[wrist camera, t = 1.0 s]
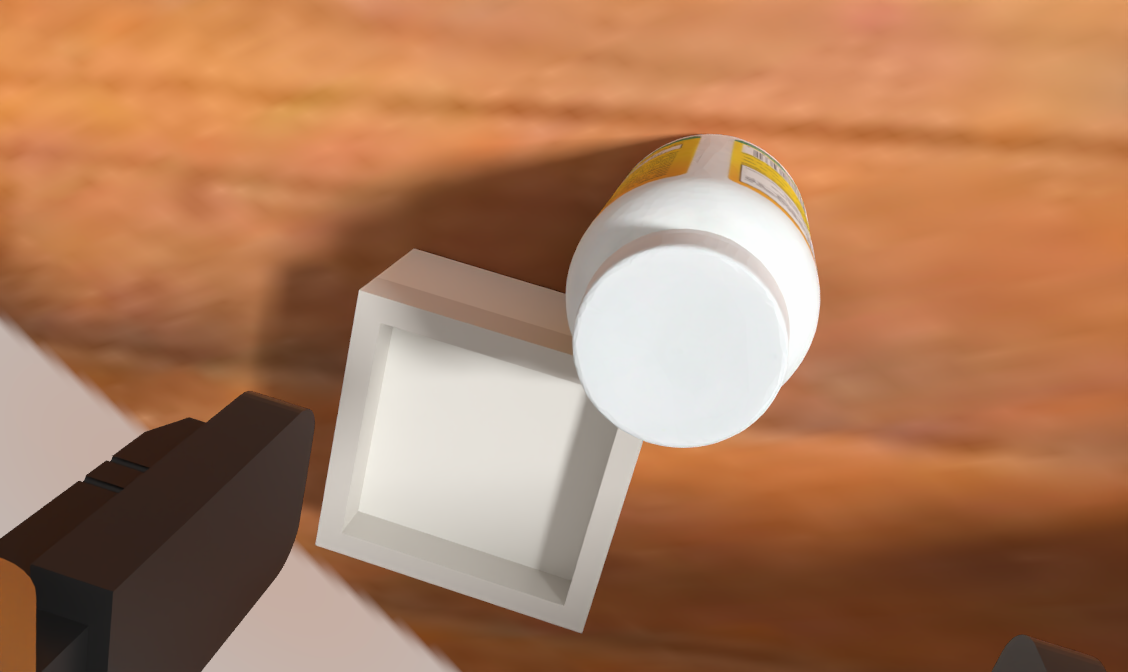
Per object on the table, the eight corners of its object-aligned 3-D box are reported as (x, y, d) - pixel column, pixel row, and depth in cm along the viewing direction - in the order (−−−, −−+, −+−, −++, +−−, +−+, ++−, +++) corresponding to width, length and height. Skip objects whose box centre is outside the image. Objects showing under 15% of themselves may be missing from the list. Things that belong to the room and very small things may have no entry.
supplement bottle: (823, 143, 25) (862, 229, 16) (787, 333, 27) (804, 505, 18) (620, 119, 25) (549, 188, 17) (599, 306, 27) (526, 456, 18)
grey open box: (674, 326, 27) (661, 382, 23) (603, 550, 30) (581, 633, 26) (413, 248, 28) (359, 290, 24) (370, 475, 31) (315, 545, 27)
